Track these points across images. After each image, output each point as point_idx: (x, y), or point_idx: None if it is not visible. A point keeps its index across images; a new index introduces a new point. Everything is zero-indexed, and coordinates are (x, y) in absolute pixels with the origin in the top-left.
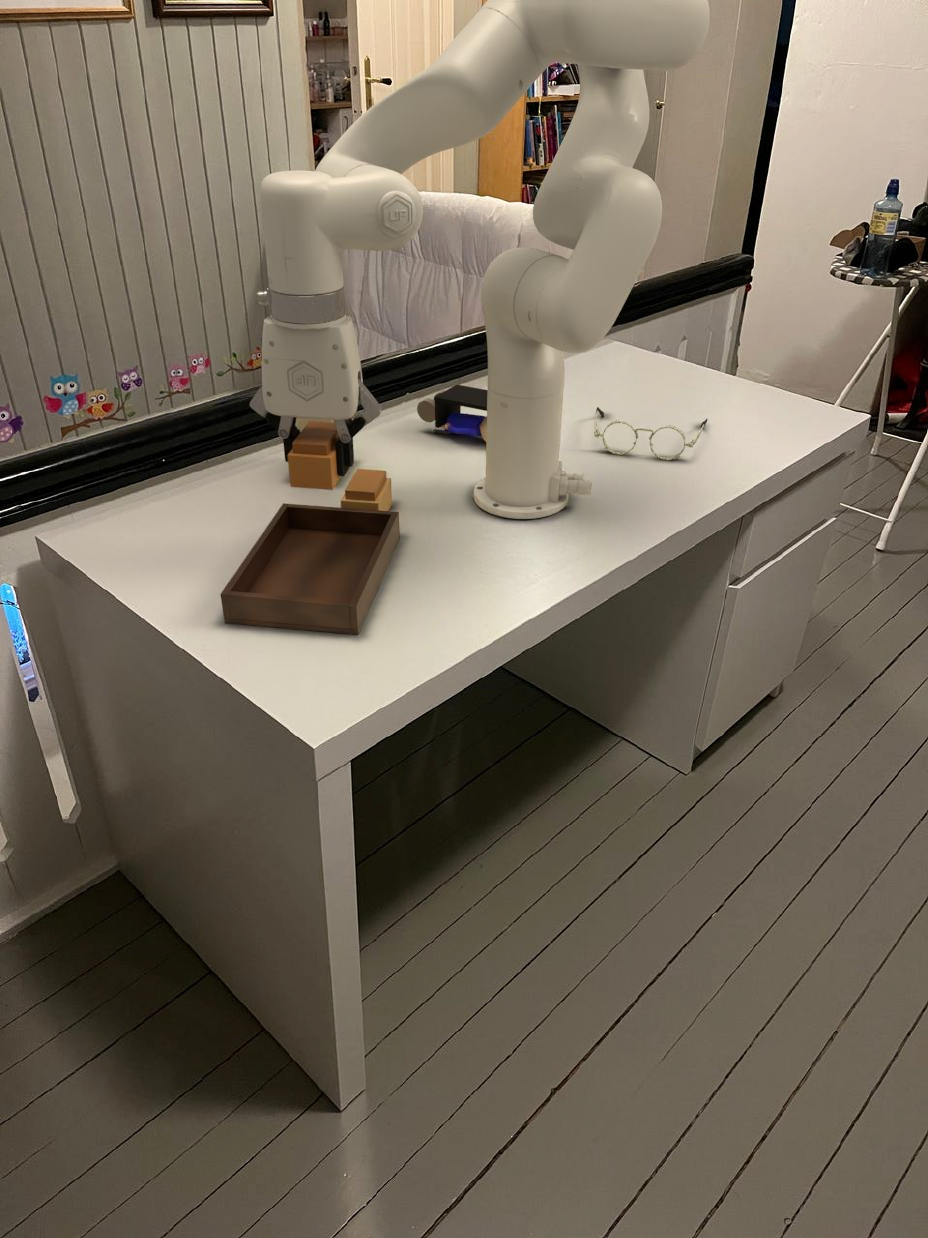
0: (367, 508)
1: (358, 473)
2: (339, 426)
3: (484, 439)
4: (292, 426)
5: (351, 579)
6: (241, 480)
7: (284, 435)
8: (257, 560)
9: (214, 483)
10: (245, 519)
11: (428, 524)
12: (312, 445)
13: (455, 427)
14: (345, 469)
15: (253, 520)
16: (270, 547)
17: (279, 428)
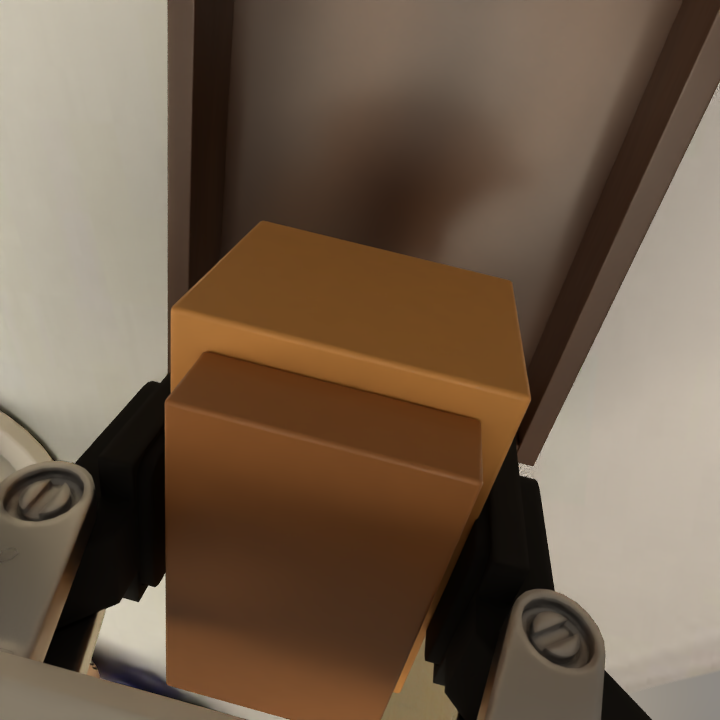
0: None
1: None
2: (16, 584)
3: (93, 670)
4: (478, 699)
5: (303, 54)
6: (629, 637)
7: (548, 614)
8: (656, 112)
9: (702, 637)
10: (640, 473)
11: None
12: (295, 427)
13: None
14: None
15: (616, 465)
16: (588, 251)
17: (597, 683)
